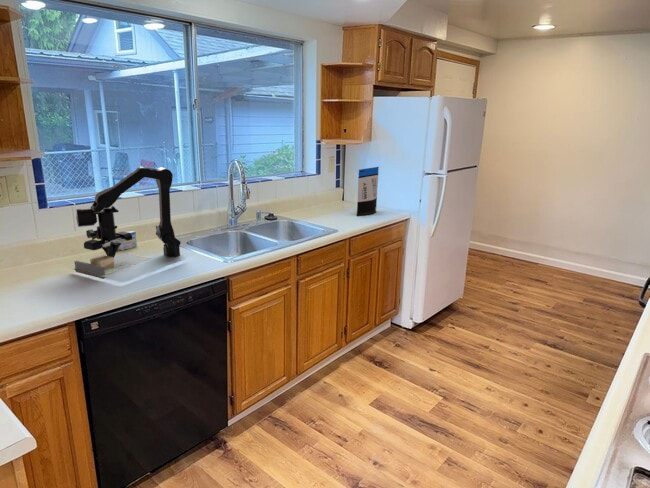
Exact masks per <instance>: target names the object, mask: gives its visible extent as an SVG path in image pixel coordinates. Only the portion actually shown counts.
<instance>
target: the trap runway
mask: <svg viewBox="0 0 650 488" xmlns="http://www.w3.org/2000/svg"><path fill="white" fill-rule="evenodd" d="M151 259H152V257H147V256H143V255H142V256H141V255H137V254H133V253H129V252H123V253H120V254H117V255H115V256H114V267H112V268H109V269H106V270H104V267H101V266H97V265H93V264H91V263H88V262H84V261H80V260H74V262H73V263H74V267H75V273H79V274H82V275H86V276H87V275H88V276H91V277H94V278H98V279H101V280H105V279H106V276H105V275H108V274H110V273H114V272H116V271H119V270H123V269H125V268H129V267H131V266H134V265H136V264H140V263H144V262H145V261H149V260H151ZM122 265H127V266H124V267H121V266H122ZM117 267H121V268H118V269H117Z"/></svg>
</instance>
